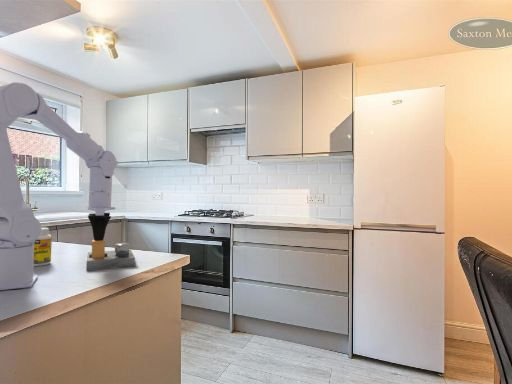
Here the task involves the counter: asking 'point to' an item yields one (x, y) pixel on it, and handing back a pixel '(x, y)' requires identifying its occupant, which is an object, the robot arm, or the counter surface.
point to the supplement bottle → (42, 248)
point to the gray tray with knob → (112, 258)
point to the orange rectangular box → (98, 248)
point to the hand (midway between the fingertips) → (98, 238)
